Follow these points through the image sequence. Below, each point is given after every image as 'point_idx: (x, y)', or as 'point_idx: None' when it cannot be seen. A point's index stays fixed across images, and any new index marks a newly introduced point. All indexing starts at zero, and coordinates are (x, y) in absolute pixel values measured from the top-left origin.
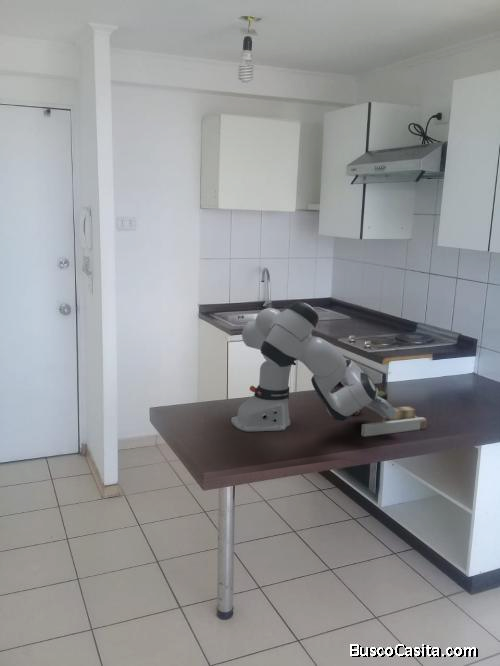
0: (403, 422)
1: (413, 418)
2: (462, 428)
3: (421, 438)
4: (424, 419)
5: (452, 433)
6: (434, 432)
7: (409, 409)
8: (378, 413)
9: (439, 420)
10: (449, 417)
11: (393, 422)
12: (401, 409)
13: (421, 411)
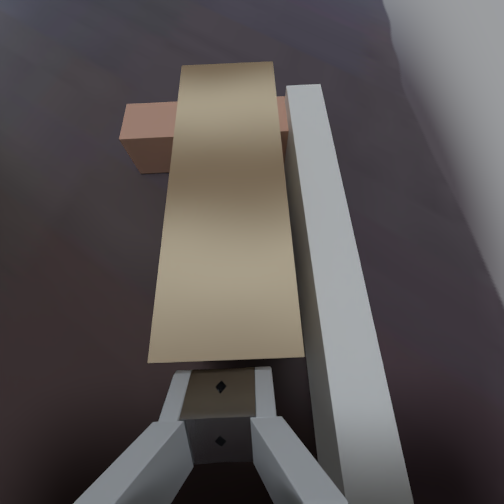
0: (353, 253)
1: (300, 144)
2: (330, 21)
3: (454, 234)
4: (320, 95)
5: (383, 72)
6: (363, 127)
7: (262, 100)
8: (180, 474)
9: (225, 41)
10: (208, 3)
11: (377, 366)
12: (242, 162)
13: (104, 45)
